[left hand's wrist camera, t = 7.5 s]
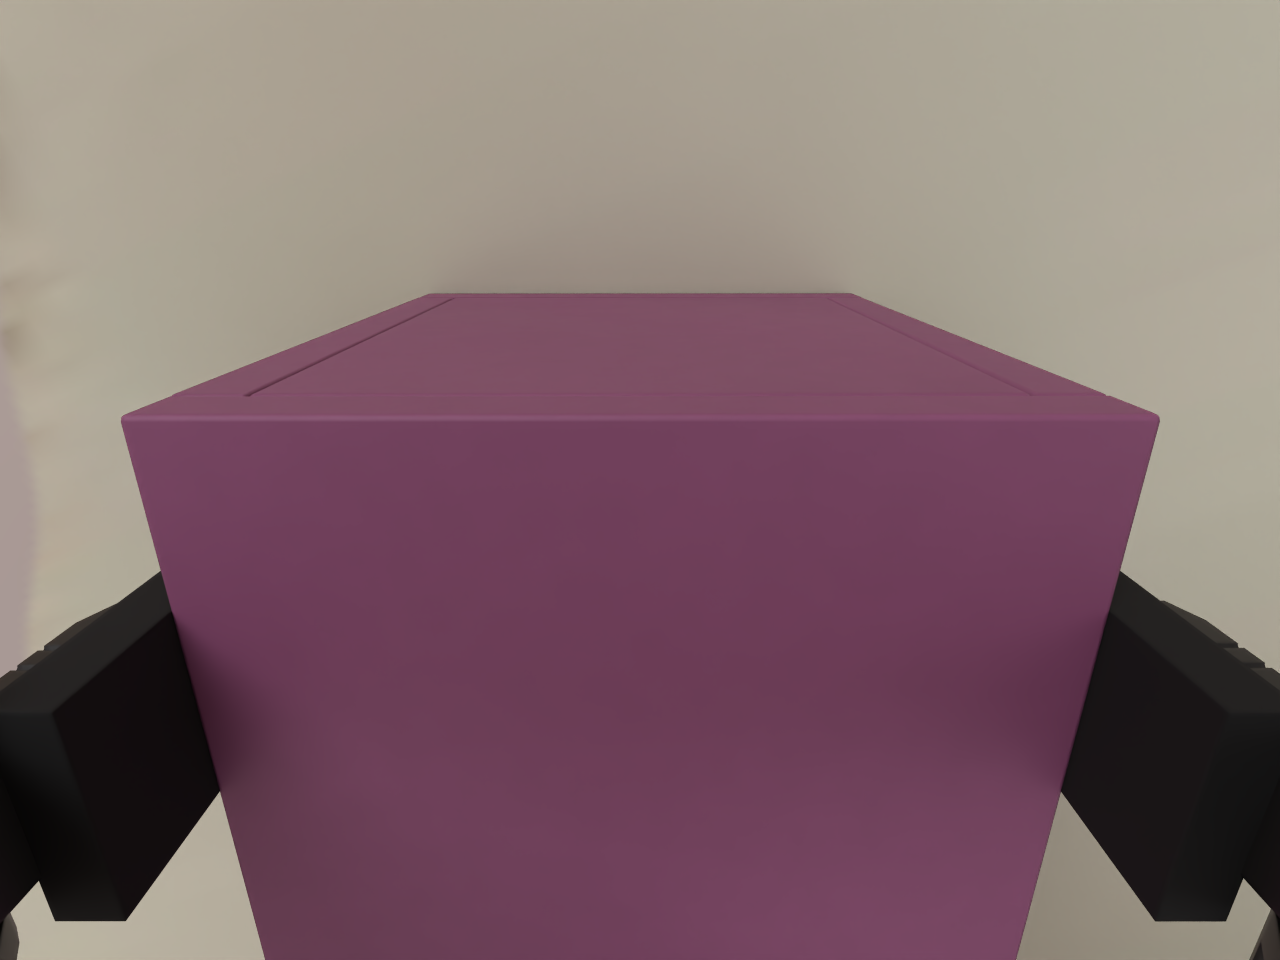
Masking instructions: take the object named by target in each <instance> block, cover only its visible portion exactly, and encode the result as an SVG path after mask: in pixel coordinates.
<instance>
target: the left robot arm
mask: <svg viewBox="0 0 1280 960" xmlns="http://www.w3.org/2000/svg"><path fill="white" fill-rule="evenodd" d="M17 667H18V668H17V670H16V671H9V672H8V673H6V674H5V675H4V676H2V677H1V678H0V960H17V954H18V948H19V938H18V932H17V927H16V925H15V922H14V920H13V918H12V915H11V913H10V912H11V911H12V910H13V909H14V908H15V906H16V905H17V904H18V903H19V902H20V901H21V900H22V899H23V898H24V896H25V895H26V894H27V893H28V892H29V891H30V890H31V889H32V888H33V886H34V885H35V884H36V883H37V882H38V881H39V882H40V885H41V887H42V890H43V892H44V895H45V897H46V900H47V902H48V905H49V907H50V910H51V912H52V914H53V917H54V919H55V921H126V920H127V919H128V917H129V916H130V914H131V913H132V912H133V910H134V909H135V908H136V906H137V905H138V903H139V902H140V901H141V899H142V898H143V897H144V895H145V894H146V892H147V891H148V890H149V888H150V887H151V885H152V884H153V883H154V881H155V880H156V879H157V877H158V876H159V874H160V873H161V872H162V870H163V869H164V868H165V866H166V865H167V863H168V862H169V861H170V859H171V858H172V857H173V855H174V854H175V852H176V851H177V850H178V848H179V847H180V845H181V844H182V843H183V841H184V840H185V839H186V837H187V836H188V834H189V833H190V832H191V830H192V829H193V828H194V826H195V825H196V823H197V822H198V821H199V819H200V818H201V817H202V815H203V814H204V812H205V811H206V810H207V808H208V807H209V805H210V804H211V803H212V801H213V800H214V799H215V797H216V796H217V794H218V793H219V792H220V789H219V785H218V781H217V778H216V774H215V770H214V767H213V763H212V759H211V755H210V752H209V748H208V744H207V740H206V737H205V733H204V729H203V726H202V722H201V718H200V714H199V711H198V707H197V703H196V699H195V696H194V692H193V688H192V685H191V681H190V677H189V673H188V670H187V666H186V662H185V658H184V655H183V651H182V647H181V644H180V640H179V636H178V632H177V629H176V625H175V621H174V617H173V614H172V610H171V606H170V603H169V599H168V595H167V591H166V588H165V584H164V580H163V576H162V573H161V571H160V572H159V573H157V574H156V575H155V576H153V577H152V578H151V579H149V580H148V581H147V582H145V583H144V584H143V585H141V586H140V587H139V588H137V589H136V590H135V591H133V592H132V593H131V594H129V595H128V596H127V597H125V598H124V599H123V600H121V601H120V602H119V603H117V604H115V605H113V606H111V607H108V608H106V609H104V610H102V611H100V612H98V613H96V614H94V615H92V616H89V617H87V618H85V619H83V620H81V621H79V622H77V623H75V624H74V625H72V626H71V627H70V628H68V629H67V630H66V631H64V632H63V633H61V634H60V635H59V636H57V637H56V638H55V639H53V640H52V641H50V642H49V643H48V644H46V645H45V646H44V650H43V651H37V652H35V653H34V654H33V655H31V656H30V657H28V658H27V659H26V660H24V661H23V662H22V663H20V664H19V665H18V666H17ZM1061 792H1062V793H1063V795H1064V796H1065V798H1066V799H1067V800H1068V802H1069V803H1070V804H1071V806H1072V807H1073V809H1074V810H1075V811H1076V813H1077V814H1078V815H1079V817H1080V818H1081V820H1082V821H1083V822H1084V824H1085V825H1086V826H1087V828H1088V829H1089V831H1090V832H1091V833H1092V835H1093V836H1094V837H1095V839H1096V840H1097V842H1098V843H1099V844H1100V846H1101V847H1102V849H1103V850H1104V851H1105V853H1106V854H1107V855H1108V857H1109V858H1110V860H1111V861H1112V862H1113V864H1114V865H1115V866H1116V868H1117V869H1118V871H1119V872H1120V873H1121V875H1122V876H1123V877H1124V879H1125V880H1126V882H1127V883H1128V884H1129V886H1130V887H1131V889H1132V890H1133V891H1134V893H1135V894H1136V895H1137V897H1138V898H1139V900H1140V901H1141V902H1142V904H1143V905H1144V906H1145V908H1146V909H1147V911H1148V912H1149V913H1150V915H1151V916H1152V917H1153V919H1154V920H1155V921H1226V920H1227V917H1228V915H1229V912H1230V910H1231V907H1232V905H1233V902H1234V900H1235V897H1236V895H1237V892H1238V890H1239V888H1240V885H1241V883H1242V880H1243V878H1244V879H1245V880H1246V881H1247V882H1248V884H1249V885H1250V886H1251V887H1252V888H1253V889H1254V890H1255V891H1256V892H1257V894H1258V895H1259V896H1260V897H1261V898H1262V899H1263V900H1264V901H1265V902H1266V903H1267V905H1268V906H1269V907H1270V908H1271V911H1270V913H1269V915H1268V918H1267V920H1266V922H1265V925H1264V927H1263V929H1262V932H1261V934H1260V936H1259V939H1258V941H1257V943H1256V946H1255V948H1254V950H1253V953H1252V955H1251V957H1250V959H1249V960H1280V674H1279V673H1278V672H1277V671H1275V670H1274V669H1273V668H1266V667H1265V663H1264V662H1263V661H1261V660H1260V659H1259V658H1257V657H1256V656H1255V655H1253V654H1252V653H1250V652H1249V651H1248V650H1246V649H1245V648H1238V643H1237V642H1235V641H1234V640H1232V639H1231V638H1230V637H1228V636H1227V635H1225V634H1224V633H1223V632H1221V631H1220V630H1219V629H1217V628H1216V627H1214V626H1213V625H1212V624H1210V623H1209V622H1207V621H1206V620H1204V619H1202V618H1200V617H1198V616H1196V615H1193V614H1191V613H1189V612H1187V611H1185V610H1183V609H1181V608H1179V607H1176V606H1174V605H1172V604H1170V603H1168V602H1166V601H1160V600H1158V599H1157V598H1156V597H1154V596H1153V595H1152V594H1150V593H1149V592H1148V591H1146V590H1145V589H1144V588H1142V587H1141V586H1140V585H1138V584H1137V583H1136V582H1134V581H1133V580H1132V579H1130V578H1129V577H1128V576H1126V575H1125V574H1124V573H1122V572H1121V571H1120V572H1119V576H1118V580H1117V583H1116V587H1115V591H1114V595H1113V598H1112V602H1111V606H1110V609H1109V613H1108V617H1107V621H1106V624H1105V628H1104V632H1103V636H1102V639H1101V643H1100V647H1099V651H1098V654H1097V658H1096V662H1095V666H1094V669H1093V673H1092V677H1091V681H1090V684H1089V688H1088V692H1087V696H1086V699H1085V703H1084V707H1083V711H1082V714H1081V718H1080V722H1079V726H1078V729H1077V733H1076V737H1075V741H1074V744H1073V748H1072V752H1071V755H1070V759H1069V763H1068V767H1067V770H1066V774H1065V778H1064V782H1063V785H1062V789H1061Z"/></svg>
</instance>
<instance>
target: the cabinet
mask: <svg viewBox="0 0 1280 960" xmlns="http://www.w3.org/2000/svg"><path fill="white" fill-rule="evenodd" d="M1159 422H1160V419H1159V416H1158V415H1157V414H1154V413H1152V412H1149V411H1147V410H1144V409H1142V408H1139V407H1137V406H1134V405H1132V404H1129V403H1127V402H1124V401H1122V400H1119V399H1117V398H1114V397H1111V396H1106V395H1105V394H1103V393H1101V392H1098V391H1096V390H1093V389H1091V388H1088V387H1086V386H1083V385H1080V384H1078V383H1075V382H1073V381H1070V380H1068V379H1065V378H1063V377H1060V376H1058V375H1055V374H1053V373H1050V372H1048V371H1045V370H1043V369H1040V368H1038V367H1035V366H1032V365H1030V364H1027V363H1025V362H1022V361H1020V360H1017V359H1015V358H1012V357H1010V356H1007V355H1005V354H1002V353H1000V352H997V351H995V350H992V349H990V348H987V347H985V346H982V345H979V344H977V343H974V342H972V341H969V340H967V339H964V338H962V337H959V336H957V335H954V334H952V333H949V332H947V331H944V330H942V329H939V328H937V327H934V326H931V325H929V324H926V323H924V322H921V321H919V320H916V319H914V318H911V317H909V316H906V315H904V314H901V313H899V312H896V311H894V310H891V309H889V308H886V307H883V306H881V305H878V304H876V303H873V302H871V301H868V300H866V299H863V298H861V297H859V296H856V295H854V294H851V293H847V294H428V295H425V296H423V297H420V298H417V299H414V300H412V301H409V302H407V303H404V304H402V305H399V306H397V307H394V308H391V309H389V310H386V311H384V312H381V313H379V314H376V315H374V316H371V317H369V318H366V319H364V320H361V321H359V322H356V323H353V324H351V325H348V326H346V327H343V328H341V329H338V330H336V331H333V332H331V333H328V334H326V335H323V336H321V337H318V338H315V339H313V340H310V341H308V342H305V343H303V344H300V345H298V346H295V347H293V348H290V349H288V350H285V351H282V352H280V353H277V354H275V355H272V356H270V357H267V358H265V359H262V360H260V361H257V362H255V363H252V364H250V365H247V366H244V367H242V368H239V369H237V370H234V371H232V372H229V373H227V374H224V375H222V376H219V377H217V378H214V379H212V380H209V381H206V382H204V383H201V384H199V385H196V386H194V387H191V388H189V389H186V390H184V391H181V392H179V393H176V394H174V395H172V396H171V397H168V398H166V399H163V400H161V401H158V402H155V403H153V404H150V405H148V406H145V407H143V408H140V409H138V410H135V411H133V412H130V413H128V414H125V415H123V416H122V418H121V424H122V427H123V431H124V435H125V439H126V442H127V446H128V450H129V453H130V457H131V461H132V465H133V468H134V472H135V476H136V480H137V483H138V487H139V491H140V494H141V498H142V502H143V506H144V509H145V513H146V517H147V521H148V524H149V528H150V532H151V535H152V539H153V543H154V547H155V550H156V554H157V558H158V562H159V565H160V569H161V573H162V576H163V580H164V584H165V588H166V591H167V595H168V599H169V603H170V606H171V610H172V614H173V617H174V621H175V625H176V629H177V632H178V636H179V640H180V644H181V647H182V651H183V655H184V658H185V662H186V666H187V670H188V673H189V677H190V681H191V685H192V688H193V692H194V696H195V699H196V703H197V707H198V711H199V714H200V718H201V722H202V726H203V729H204V733H205V737H206V740H207V744H208V748H209V752H210V755H211V759H212V763H213V767H214V770H215V774H216V778H217V781H218V785H219V789H220V793H221V796H222V800H223V804H224V808H225V811H226V815H227V819H228V822H229V826H230V830H231V834H232V837H233V841H234V845H235V849H236V852H237V856H238V860H239V863H240V867H241V871H242V875H243V878H244V882H245V886H246V890H247V893H248V897H249V901H250V904H251V908H252V912H253V916H254V919H255V923H256V927H257V931H258V934H259V938H260V942H261V945H262V949H263V953H264V957H265V960H1016V958H1017V954H1018V950H1019V946H1020V943H1021V939H1022V935H1023V931H1024V928H1025V924H1026V920H1027V916H1028V913H1029V909H1030V905H1031V901H1032V898H1033V894H1034V890H1035V887H1036V883H1037V879H1038V875H1039V872H1040V868H1041V864H1042V860H1043V857H1044V853H1045V849H1046V845H1047V842H1048V838H1049V834H1050V830H1051V827H1052V823H1053V819H1054V815H1055V812H1056V808H1057V804H1058V800H1059V797H1060V793H1061V789H1062V785H1063V782H1064V778H1065V774H1066V770H1067V767H1068V763H1069V759H1070V755H1071V752H1072V748H1073V744H1074V741H1075V737H1076V733H1077V729H1078V726H1079V722H1080V718H1081V714H1082V711H1083V707H1084V703H1085V699H1086V696H1087V692H1088V688H1089V684H1090V681H1091V677H1092V673H1093V669H1094V666H1095V662H1096V658H1097V654H1098V651H1099V647H1100V643H1101V639H1102V636H1103V632H1104V628H1105V624H1106V621H1107V617H1108V613H1109V609H1110V606H1111V602H1112V598H1113V595H1114V591H1115V587H1116V583H1117V580H1118V576H1119V572H1120V568H1121V565H1122V561H1123V557H1124V553H1125V550H1126V546H1127V542H1128V538H1129V535H1130V531H1131V527H1132V523H1133V520H1134V516H1135V512H1136V508H1137V505H1138V501H1139V497H1140V493H1141V490H1142V486H1143V482H1144V478H1145V475H1146V471H1147V467H1148V463H1149V460H1150V456H1151V452H1152V449H1153V445H1154V441H1155V437H1156V434H1157V430H1158V426H1159Z"/></svg>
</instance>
